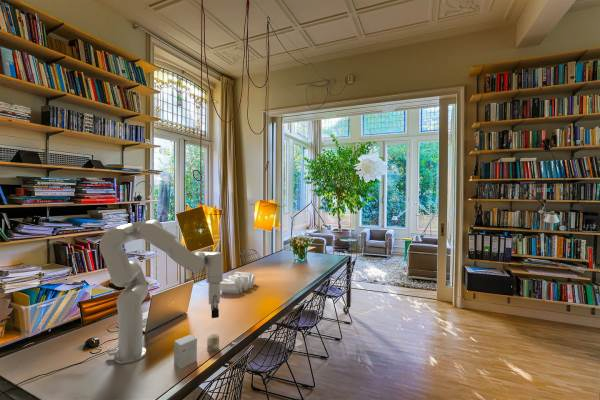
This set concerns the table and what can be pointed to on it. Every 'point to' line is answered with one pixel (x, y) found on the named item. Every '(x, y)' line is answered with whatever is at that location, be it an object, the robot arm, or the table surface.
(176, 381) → the table surface
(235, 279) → the wavy white extrusion
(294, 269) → the table surface
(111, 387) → the table surface
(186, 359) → the small box
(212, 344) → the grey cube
